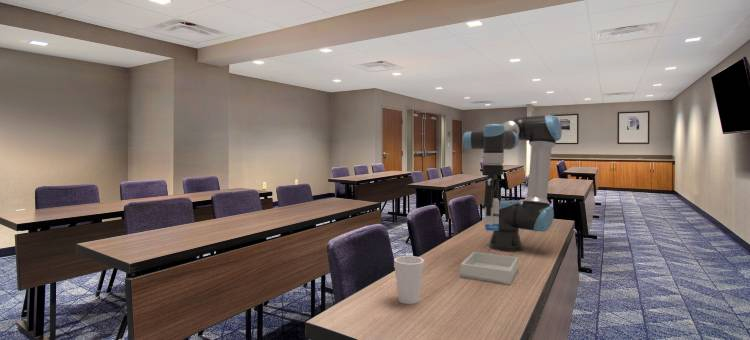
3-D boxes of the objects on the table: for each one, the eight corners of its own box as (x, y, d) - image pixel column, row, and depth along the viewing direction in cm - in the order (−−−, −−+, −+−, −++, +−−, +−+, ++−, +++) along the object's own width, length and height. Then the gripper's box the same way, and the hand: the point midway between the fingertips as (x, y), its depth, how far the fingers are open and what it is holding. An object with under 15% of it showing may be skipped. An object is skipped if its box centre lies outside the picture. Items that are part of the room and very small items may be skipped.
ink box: (499, 231, 147) (499, 200, 147) (485, 230, 148) (486, 199, 148) (496, 227, 156) (497, 197, 155) (483, 226, 157) (484, 197, 156)
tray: (473, 263, 166) (473, 251, 165) (518, 269, 157) (518, 257, 157) (460, 277, 148) (460, 264, 148) (510, 285, 139) (510, 271, 139)
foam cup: (392, 294, 130) (392, 256, 129) (419, 294, 130) (420, 255, 130) (396, 306, 120) (396, 264, 119) (426, 305, 121) (426, 264, 120)
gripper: (489, 163, 162) (487, 217, 163) (476, 164, 143) (474, 225, 144) (508, 164, 159) (506, 219, 160) (497, 165, 139) (495, 228, 140)
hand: (491, 222), depth 152 cm, fingers closed on ink box, 9 cm apart
